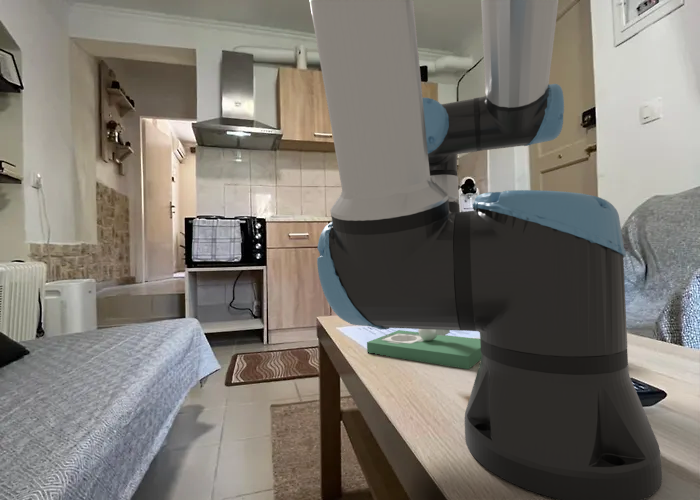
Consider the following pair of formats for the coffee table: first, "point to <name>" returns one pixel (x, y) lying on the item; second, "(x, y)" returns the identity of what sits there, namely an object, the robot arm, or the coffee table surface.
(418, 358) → the putting strip
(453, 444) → the coffee table surface
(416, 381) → the coffee table surface
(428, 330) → the ball
